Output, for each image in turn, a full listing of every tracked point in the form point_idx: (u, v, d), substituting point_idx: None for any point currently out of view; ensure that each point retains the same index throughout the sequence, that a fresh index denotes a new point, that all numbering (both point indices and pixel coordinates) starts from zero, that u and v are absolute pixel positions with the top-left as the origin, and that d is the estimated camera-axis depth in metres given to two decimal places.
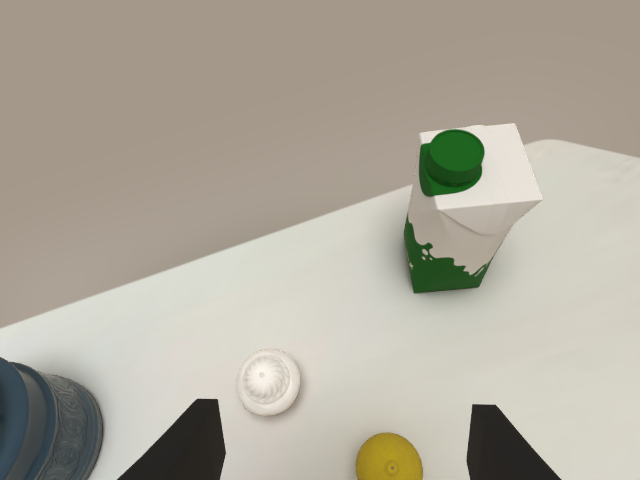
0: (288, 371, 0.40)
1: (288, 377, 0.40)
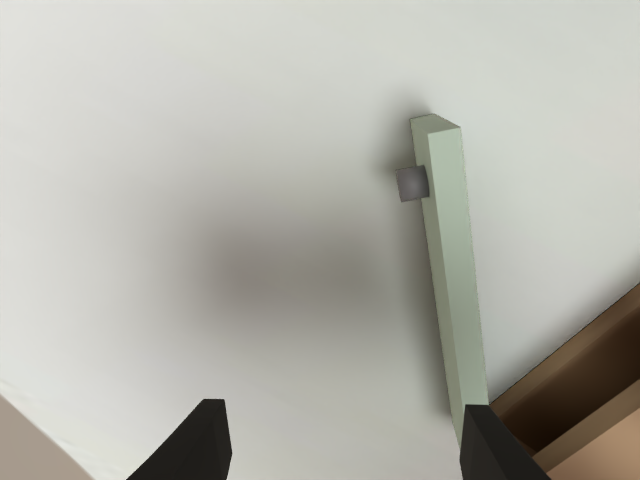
0: None
1: None
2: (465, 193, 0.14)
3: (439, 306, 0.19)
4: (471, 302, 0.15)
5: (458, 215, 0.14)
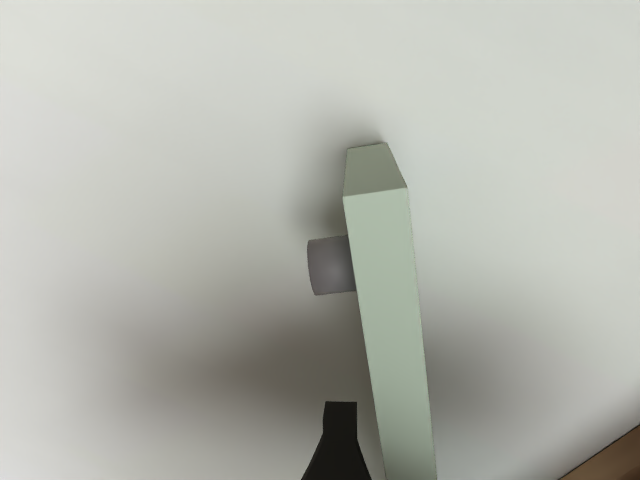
0: None
1: None
2: (416, 309, 0.07)
3: None
4: None
5: (403, 346, 0.08)
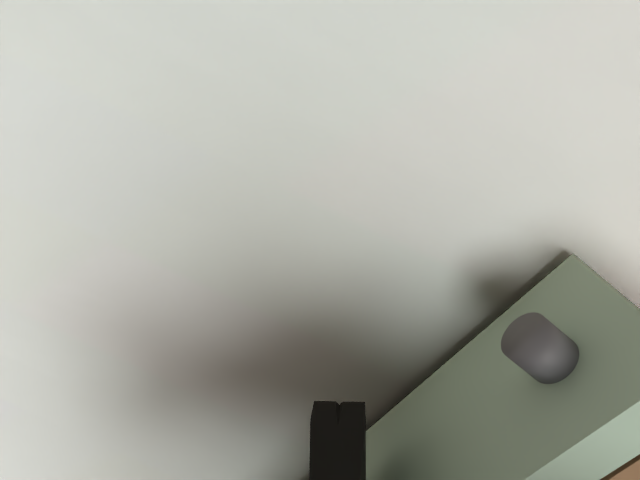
0: None
1: None
2: (627, 457, 0.08)
3: (373, 461, 0.13)
4: None
5: (586, 470, 0.08)
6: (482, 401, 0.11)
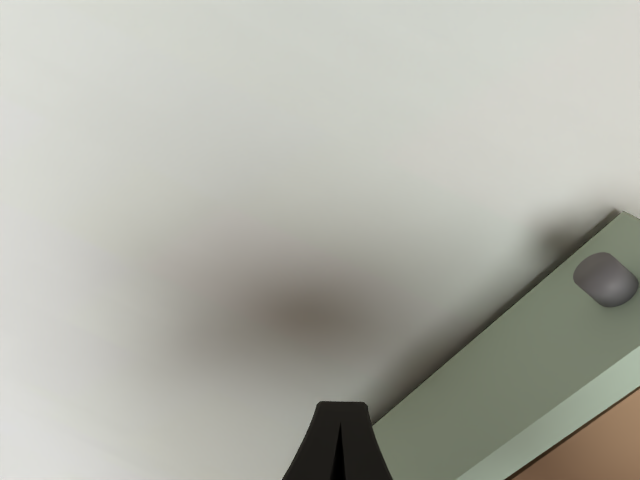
0: None
1: None
2: None
3: (453, 387, 0.16)
4: (547, 440, 0.12)
5: None
6: (554, 328, 0.13)
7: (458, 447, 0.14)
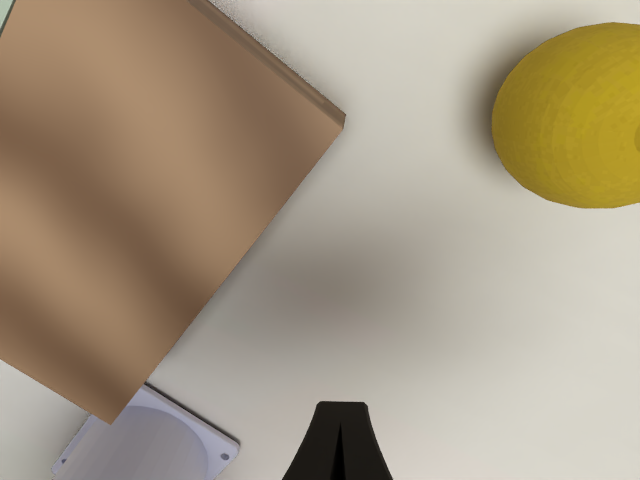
0: None
1: None
2: None
3: None
4: None
5: None
6: None
7: None
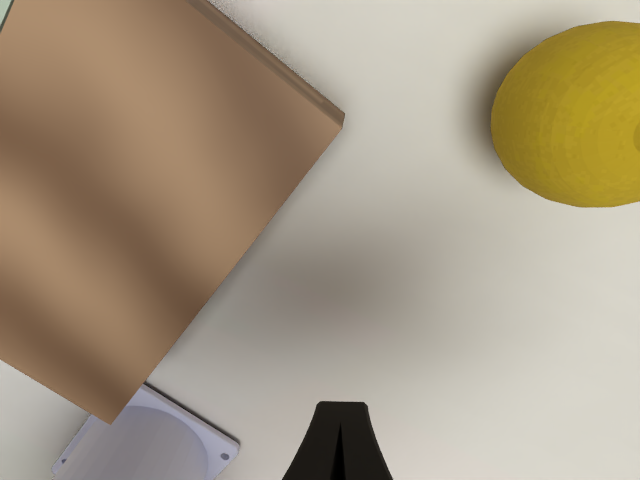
0: None
1: None
2: None
3: None
4: None
5: None
6: None
7: None
